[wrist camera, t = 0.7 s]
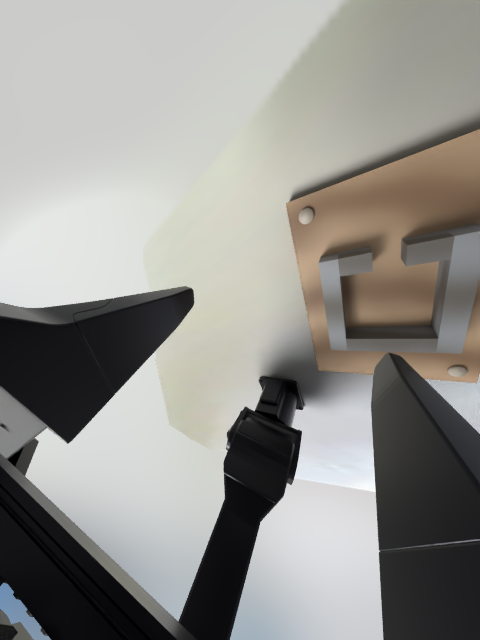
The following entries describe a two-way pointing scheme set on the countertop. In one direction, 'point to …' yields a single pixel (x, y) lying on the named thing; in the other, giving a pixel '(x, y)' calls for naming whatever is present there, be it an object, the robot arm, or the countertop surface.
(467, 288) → the chassis board
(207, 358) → the countertop surface
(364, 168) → the countertop surface
